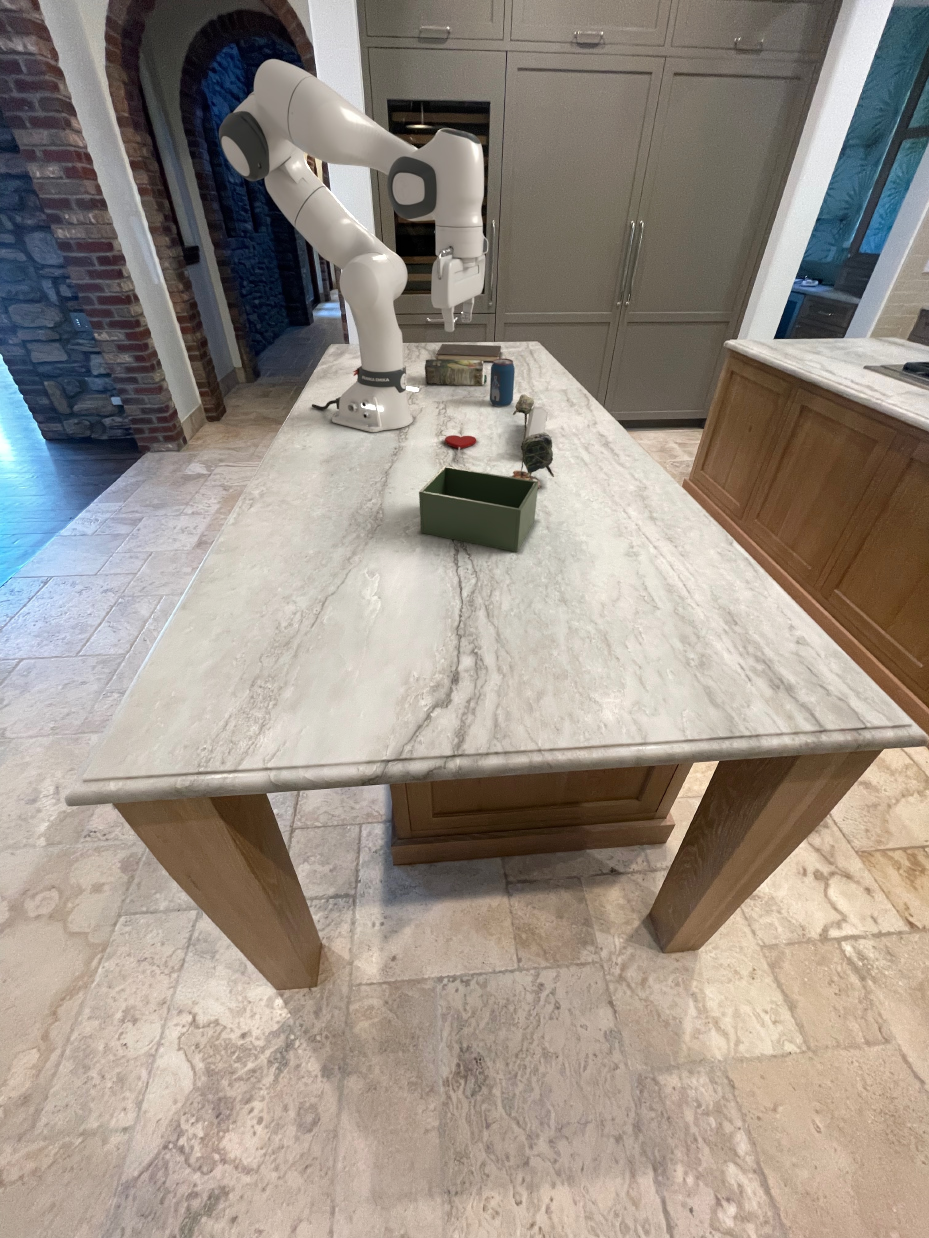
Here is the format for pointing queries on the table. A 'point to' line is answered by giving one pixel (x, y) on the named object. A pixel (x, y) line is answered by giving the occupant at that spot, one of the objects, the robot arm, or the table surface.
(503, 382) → the soda can
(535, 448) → the plant with pod
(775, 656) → the table surface
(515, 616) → the table surface
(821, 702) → the table surface
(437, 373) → the juice carton
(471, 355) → the hardcover book
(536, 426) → the white square bar
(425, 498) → the bin
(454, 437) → the lollipop
